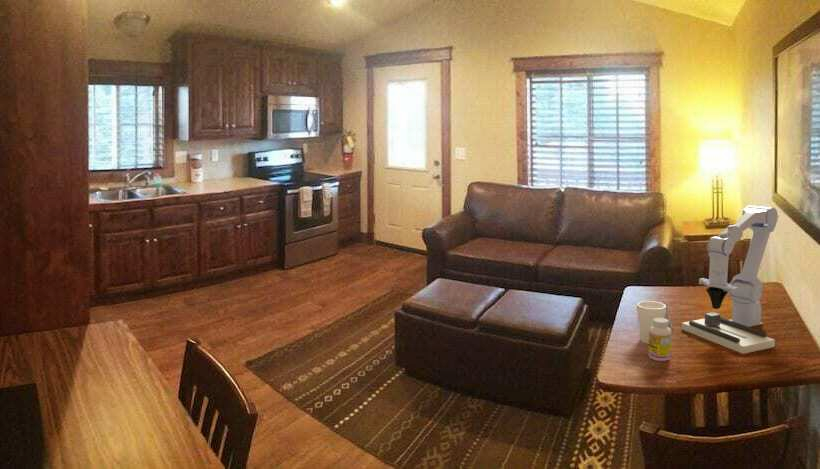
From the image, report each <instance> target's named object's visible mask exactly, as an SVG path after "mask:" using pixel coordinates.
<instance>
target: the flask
mask: <svg viewBox="0 0 820 469" xmlns="http://www.w3.org/2000/svg"><path fill="white" fill-rule="evenodd" d="M660 303H663V304H665V305H666V314H665V319H668V320H669V325H668V327H669V328H670V329H671V331H672V332H673V330H674V327H673V325H672V322H671V319H670V318H671V317H670V316H669V313H668V312H669V311H668V305H669V303H668V302H667V301H666V302H665V301H662V302H661V301H660Z"/></svg>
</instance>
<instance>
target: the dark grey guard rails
mask: <svg viewBox="0 0 820 469" xmlns="http://www.w3.org/2000/svg"><path fill="white" fill-rule="evenodd" d="M730 320H731V319H727V318H724V317H721V316H720V322H722V323H725V324H728V325H731V326H734V327H737V328H739V329H742V330H745V331H748V332H751V333H753V334H756V335H759V336H762V337H768V333H767V332H765V331H762V330H759V329H756V328H753V327H747V326H745V325H742V324H739V323H736V322H733V321H730ZM688 322H689V325H692V326H694V327H697V328H699V329H702V330H705V331H707V332H710V333H712V334H715V335H718V336H720V337H723V338H726V339H728V340H731V341H733V342H736V343H739V342H740V339H739V338H736V337H734V336H731V335H728V334H726V333H723V332H720V331H718V330H715V329H712V328H710V327H707V326H704V325H702V324H699V323H696V322H694V320H689V321H688Z"/></svg>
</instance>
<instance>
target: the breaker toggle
mask: <svg viewBox="0 0 820 469" xmlns="http://www.w3.org/2000/svg"><path fill="white" fill-rule="evenodd" d="M720 317H721V314H720V313H717V312H715V311H713V312H708V313H704V318H705V325H707V326H710V327H714V326H719V325H720Z"/></svg>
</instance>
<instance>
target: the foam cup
mask: <svg viewBox="0 0 820 469" xmlns="http://www.w3.org/2000/svg"><path fill="white" fill-rule="evenodd" d="M660 302H661V301H660ZM660 302H659V301H654V300H653V301H652V300H643V301H639V302H637V303H636V312H637V320H638V329H639V340H640V342H642V343H644V344H648V345H649V329H650V327H651V326H653V325H654V324H653V319H654V318H665V314H666V305H665V304H663V303H660Z"/></svg>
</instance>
